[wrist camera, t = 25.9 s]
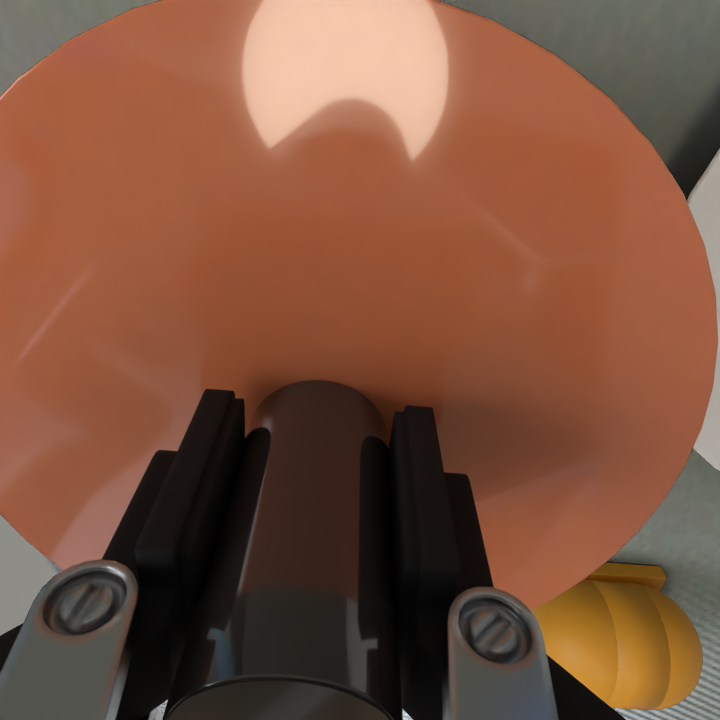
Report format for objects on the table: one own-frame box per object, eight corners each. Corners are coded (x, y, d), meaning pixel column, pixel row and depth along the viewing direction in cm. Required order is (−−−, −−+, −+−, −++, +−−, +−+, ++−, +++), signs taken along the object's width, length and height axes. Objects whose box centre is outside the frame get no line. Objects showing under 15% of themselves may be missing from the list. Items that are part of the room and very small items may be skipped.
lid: (37, 601, 17) (-149, 928, 11) (-186, -76, 8) (-1681, -355, 2) (565, 637, 17) (672, 963, 11) (853, 42, 9) (1864, 75, 3)
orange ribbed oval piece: (506, 615, 31) (533, 727, 26) (531, 548, 28) (567, 659, 23) (644, 625, 31) (696, 737, 26) (683, 559, 29) (750, 671, 24)
